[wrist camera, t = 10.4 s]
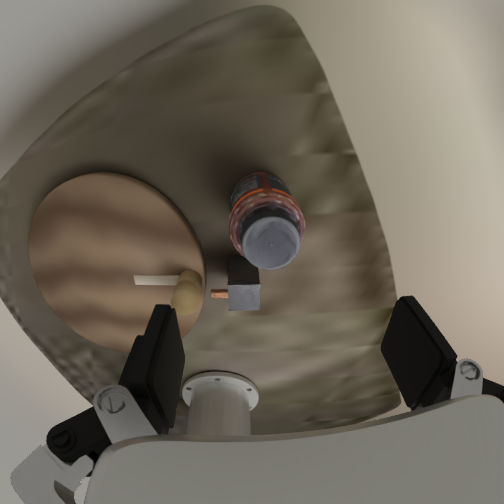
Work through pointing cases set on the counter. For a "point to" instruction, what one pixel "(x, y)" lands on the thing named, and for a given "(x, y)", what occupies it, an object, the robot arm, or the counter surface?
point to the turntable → (115, 258)
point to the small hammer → (241, 285)
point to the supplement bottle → (265, 221)
